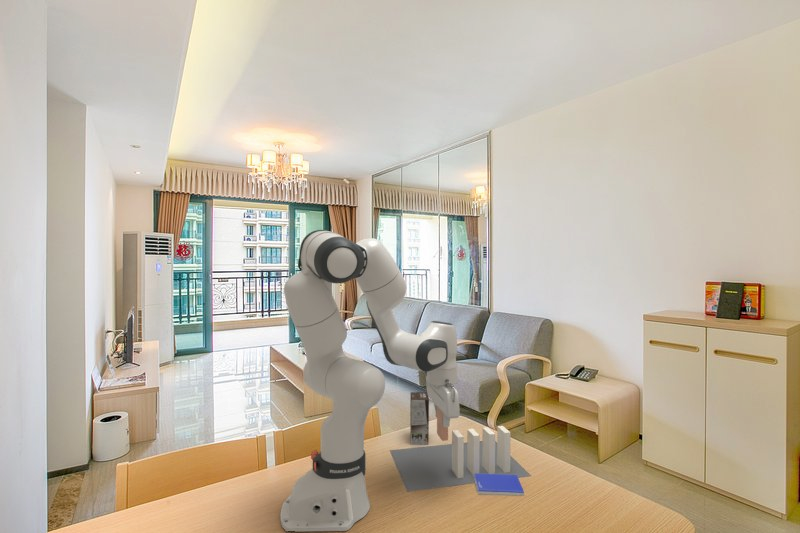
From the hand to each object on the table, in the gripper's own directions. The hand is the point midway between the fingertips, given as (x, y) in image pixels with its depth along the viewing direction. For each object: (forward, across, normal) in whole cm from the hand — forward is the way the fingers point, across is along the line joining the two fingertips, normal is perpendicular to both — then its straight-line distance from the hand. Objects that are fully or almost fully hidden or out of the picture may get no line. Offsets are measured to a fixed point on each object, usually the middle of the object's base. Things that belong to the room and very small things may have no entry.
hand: (442, 421), depth 120 cm
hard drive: (+16, -9, -13) cm, 23 cm away
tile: (+4, 0, 0) cm, 5 cm away
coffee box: (+17, +25, 0) cm, 30 cm away
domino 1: (+16, 0, -5) cm, 17 cm away
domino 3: (+16, 0, -15) cm, 22 cm away
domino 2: (+16, 0, -10) cm, 19 cm away
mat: (+16, +6, -7) cm, 19 cm away
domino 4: (+16, 0, -20) cm, 25 cm away
